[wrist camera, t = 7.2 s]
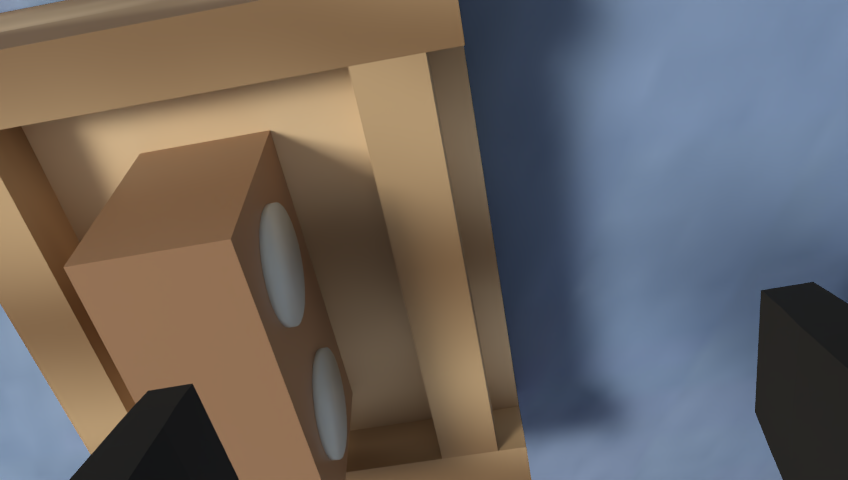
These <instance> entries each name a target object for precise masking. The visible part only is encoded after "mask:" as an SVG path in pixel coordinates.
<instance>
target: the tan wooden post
mask: <svg viewBox="0 0 848 480" xmlns="http://www.w3.org/2000/svg"><path fill="white" fill-rule="evenodd" d="M63 268H64V269H65V271H66V273H67V275H68V277H69V279H70V281H71V283H72V285H73V286H74V288H75V290H76V292H77V294H78V296H79V298H80V300H81V302H82V303H83V305H84V307H85V309H86V311H87V313H88V315H89V317H90V319H91V320H92V322H93V324H94V326H95V328H96V330H97V332H98V334H99V336H100V338H101V339H102V341H103V343H104V345H105V347H106V349H107V351H108V353H109V355H110V356H111V358H112V360H113V362H114V364H115V366H116V368H117V370H118V372H119V373H120V375H121V377H122V379H123V381H124V383H125V385H126V387H127V389H128V390H129V392H130V394H131V396H132V398H133V400H134V402H135V404H136V403H137V402H138V401H139V400H140V399H141V398H142V397H143V396H144V395H145V393H146V392H147V391H150V390H156V389H162V388H168V387H174V386H180V385H186V384H192V383H193V385H194V387H195V389H196V392H197V394H198V396H199V398H200V400H201V402H202V404H203V406H204V408H205V410H206V412H207V414H208V416H209V418H210V420H211V423H212V425H213V427H214V429H215V431H216V433H217V435H218V437H219V439H220V441H221V443H222V445H223V447H224V449H225V451H226V454H227V456H228V458H229V460H230V462H231V464H232V466H233V468H234V470H235V472H236V474H237V476H238V478H239V480H346V470H347V457H348V445H349V433H350V420H351V408H352V396H353V392H352V389H351V386H350V383H349V380H348V376H347V373H346V370H345V367H344V364H343V361H342V357H341V354H340V351H339V348H338V345H337V342H336V338H335V335H334V332H333V329H332V326H331V322H330V319H329V316H328V313H327V310H326V307H325V303H324V300H323V297H322V294H321V291H320V287H319V284H318V281H317V278H316V275H315V272H314V268H313V265H312V262H311V259H310V256H309V252H308V249H307V246H306V243H305V240H304V237H303V233H302V230H301V227H300V224H299V221H298V218H297V214H296V211H295V208H294V205H293V202H292V198H291V195H290V192H289V189H288V186H287V183H286V179H285V176H284V173H283V170H282V167H281V163H280V160H279V157H278V154H277V151H276V148H275V144H274V141H273V138H272V135H271V132H270V130H268V131H263V132H257V133H252V134H246V135H240V136H235V137H229V138H224V139H218V140H212V141H207V142H201V143H196V144H190V145H184V146H179V147H173V148H168V149H162V150H157V151H151V152H145V153H140V154H139V155H138V157H137V158H136V160H135V161H134V163H133V164H132V166H131V167H130V169H129V170H128V172H127V173H126V175H125V176H124V178H123V179H122V181H121V182H120V184H119V185H118V187H117V188H116V190H115V191H114V193H113V194H112V196H111V197H110V199H109V200H108V202H107V203H106V205H105V206H104V208H103V209H102V211H101V212H100V213H99V215H98V216H97V218H96V219H95V221H94V222H93V224H92V225H91V227H90V228H89V230H88V231H87V233H86V234H85V236H84V237H83V239H82V240H81V242H80V243H79V245H78V246H77V248H76V249H75V251H74V252H73V254H72V255H71V257H70V258H69V260H68V261H67V263H66V264H65V266H64V267H63Z"/></svg>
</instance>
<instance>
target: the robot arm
mask: <svg viewBox="0 0 848 480" xmlns="http://www.w3.org/2000/svg"><path fill="white" fill-rule="evenodd" d="M755 413H756V415H757V418H758V420H759V423H760V425H761V428H762V430H763V433H764V435H765V438H766V440H767V443H768V445H769V448H770V450H771V453H772V455H773V457H774V460H775V462H776V464H777V467H778V469H779V471H780V474H781V476H782V478H783V480H848V304H847V303H846V302H844V301H843V300H841V299H840V298H838V297H836V296H835V295H833V294H832V293H830V292H829V291H827V290H825V289H824V288H822V287H820V286H819V285H817V284H816V283H814V282H810V283H804V284H798V285H792V286H786V287H780V288H773V289H767V290H761V304H760V323H759V343H758V363H757V382H756V402H755ZM70 480H239V478H238V476H237V474H236V472H235V470H234V468H233V466H232V464H231V462H230V460H229V458H228V456H227V454H226V451H225V449H224V447H223V445H222V443H221V441H220V439H219V437H218V435H217V433H216V431H215V429H214V427H213V425H212V423H211V420H210V418H209V416H208V414H207V412H206V410H205V408H204V406H203V404H202V402H201V400H200V398H199V396H198V394H197V392H196V389H195V387H194V385H193V383H192V384H186V385H180V386H174V387H168V388H162V389H156V390H150V391H147V392H146V393H145V395H144V396H143V397H142V398H141V399H140V400H139V401H138V402H137V403H136V404H135V405H134V406H133V407H132V408H131V410H130V411H129V412H128V413H127V414H126V415H125V416H124V417H123V419H122V420H121V421H120V422H119V423H118V424H117V425H116V427H115V428H114V429H113V430H112V431H111V432H110V433H109V435H108V436H107V437H106V438H105V439H104V440H103V442H102V443H101V444H100V445H99V446H98V447H97V449H96V450H95V451H94V452H93V453H92V454H91V455H90V457H89V458H88V459H87V460H86V461H85V462H84V464H83V465H82V466H81V467H80V468H79V469H78V471H77V472H76V473H75V474H74V475H73V476H72V477H71V479H70Z"/></svg>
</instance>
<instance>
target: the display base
mask: <svg viewBox="0 0 848 480" xmlns="http://www.w3.org/2000/svg"><path fill="white" fill-rule="evenodd" d="M464 45H465V42H464V35H463V29H462V22H461V16H460V9H459V3H458V0H65V1H60V2H55V3H50V4H45V5H40V6H34V7H29V8H24V9H19V10H14V11H9V12H4V13H0V304H1V306H2V307H3V309H4V311H5V312H6V314H7V316H8V317H9V319H10V321H11V322H12V324H13V326H14V327H15V329H16V331H17V332H18V334H19V336H20V337H21V339H22V341H23V342H24V344H25V346H26V347H27V349H28V351H29V352H30V354H31V356H32V357H33V359H34V361H35V362H36V364H37V366H38V367H39V369H40V371H41V372H42V374H43V376H44V377H45V379H46V381H47V382H48V384H49V386H50V387H51V389H52V391H53V392H54V394H55V396H56V397H57V399H58V401H59V402H60V404H61V406H62V407H63V409H64V411H65V412H66V414H67V416H68V417H69V419H70V421H71V422H72V424H73V426H74V427H75V429H76V431H77V432H78V434H79V436H80V437H81V439H82V441H83V442H84V444H85V446H86V447H87V449H88V451H89V452H90V454H92V453H93V452H94V451H95V450H96V449H97V447H98V446H99V445H100V444H101V443H102V442H103V440H104V439H105V438H106V437H107V436H108V435H109V433H110V432H111V431H112V430H113V429H114V428H115V427H116V425H117V424H118V423H119V422H120V421H121V420H122V419H123V417H124V416H125V415H126V414H127V413H128V412H129V411H130V410H131V408H132V407H133V406H134V405H135V402H134V400H133V398H132V396H131V394H130V392H129V390H128V389H127V387H126V385H125V383H124V381H123V379H122V377H121V375H120V373H119V372H118V370H117V368H116V366H115V364H114V362H113V360H112V358H111V356H110V355H109V353H108V351H107V349H106V347H105V345H104V343H103V341H102V339H101V338H100V336H99V334H98V332H97V330H96V328H95V326H94V324H93V322H92V320H91V319H90V317H89V315H88V313H87V311H86V309H85V307H84V305H83V303H82V302H81V300H80V298H79V296H78V294H77V292H76V290H75V288H74V286H73V285H72V283H71V281H70V279H69V277H68V275H67V273H66V271H65V269H64V268H63V267H64V266H65V264H66V263H67V261H68V260H69V258H70V257H71V255H72V254H73V252H74V251H75V249H76V248H77V246H78V245H79V243H80V242H81V240H82V239H83V237H84V236H85V234H86V233H87V231H88V230H89V228H90V227H91V225H92V224H93V222H94V221H95V219H96V218H97V216H98V215H99V213H100V212H101V211H102V209H103V208H104V206H105V205H106V203H107V202H108V200H109V199H110V197H111V196H112V194H113V193H114V191H115V190H116V188H117V187H118V185H119V184H120V182H121V181H122V179H123V178H124V176H125V175H126V173H127V172H128V170H129V169H130V167H131V166H132V164H133V163H134V161H135V160H136V158H137V157H138V155H139V154H140V153H145V152H151V151H157V150H162V149H168V148H173V147H179V146H184V145H190V144H196V143H201V142H207V141H212V140H218V139H224V138H229V137H235V136H240V135H246V134H252V133H257V132H263V131H268V130H270V132H271V135H272V138H273V141H274V144H275V148H276V151H277V154H278V157H279V160H280V163H281V167H282V170H283V173H284V176H285V179H286V183H287V186H288V189H289V192H290V195H291V198H292V202H293V205H294V208H295V211H296V214H297V218H298V221H299V224H300V227H301V230H302V233H303V237H304V240H305V243H306V246H307V249H308V252H309V256H310V259H311V262H312V265H313V268H314V272H315V275H316V278H317V281H318V284H319V287H320V291H321V294H322V297H323V300H324V303H325V307H326V310H327V313H328V316H329V319H330V322H331V326H332V329H333V332H334V335H335V338H336V342H337V345H338V348H339V351H340V354H341V357H342V361H343V364H344V367H345V370H346V373H347V376H348V380H349V383H350V386H351V389H352V392H353V396H352V408H351V420H350V433H349V445H348V457H347V470H346V480H531V475H530V469H529V462H528V456H527V449H526V443H525V438H524V432H523V426H522V421H521V415H520V409H519V403H518V397H517V390H516V384H515V377H514V371H513V364H512V358H511V351H510V345H509V338H508V332H507V325H506V319H505V312H504V306H503V299H502V293H501V286H500V280H499V273H498V266H497V260H496V253H495V247H494V240H493V234H492V227H491V221H490V214H489V208H488V201H487V195H486V188H485V182H484V175H483V169H482V162H481V156H480V149H479V143H478V136H477V129H476V123H475V116H474V110H473V103H472V97H471V90H470V84H469V77H468V71H467V64H466V58H465V51H464Z"/></svg>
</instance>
